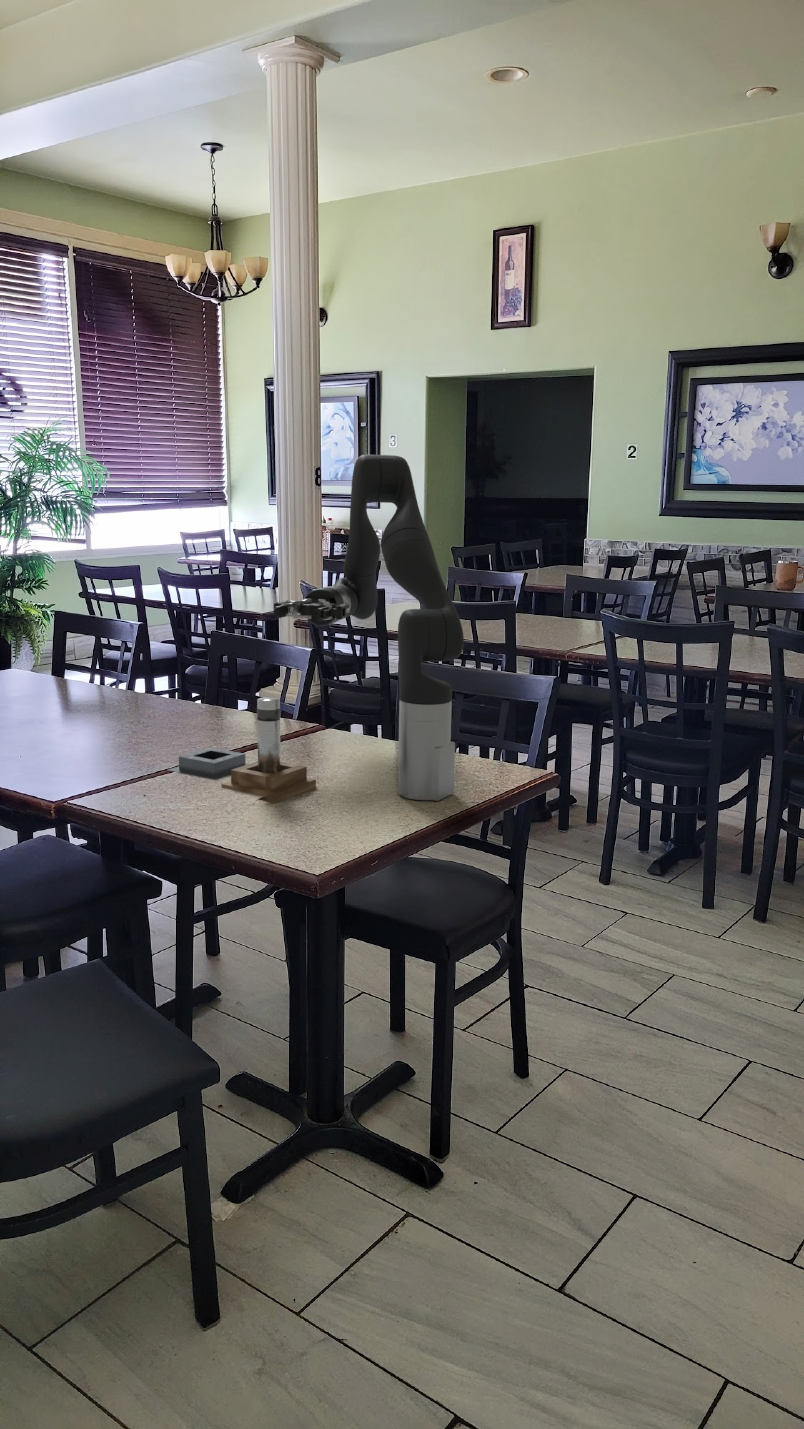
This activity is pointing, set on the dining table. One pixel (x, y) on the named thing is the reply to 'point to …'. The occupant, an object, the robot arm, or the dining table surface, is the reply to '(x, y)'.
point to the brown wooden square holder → (271, 781)
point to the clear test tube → (268, 735)
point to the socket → (210, 763)
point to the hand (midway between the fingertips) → (298, 613)
